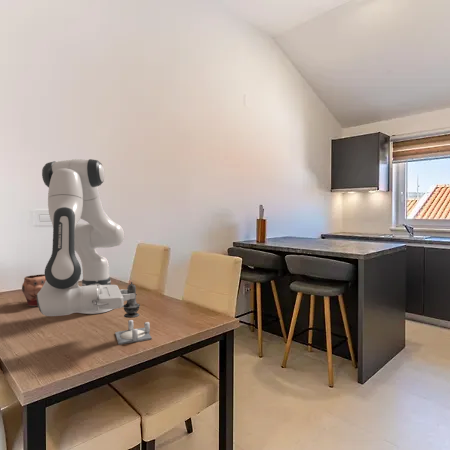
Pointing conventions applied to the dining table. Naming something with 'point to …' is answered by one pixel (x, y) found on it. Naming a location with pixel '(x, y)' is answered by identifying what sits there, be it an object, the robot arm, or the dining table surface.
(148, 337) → the pin socket board
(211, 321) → the dining table surface
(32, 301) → the decorative planter
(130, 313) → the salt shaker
